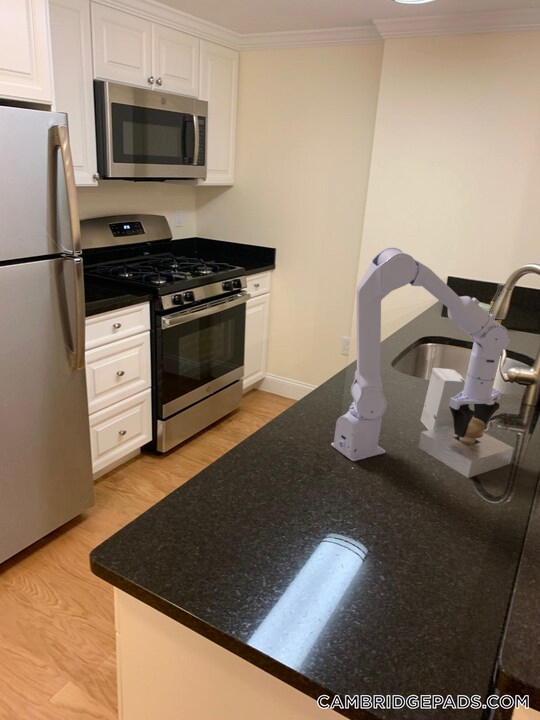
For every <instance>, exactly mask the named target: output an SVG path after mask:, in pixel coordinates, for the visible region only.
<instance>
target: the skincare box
mask: <svg viewBox="0 0 540 720" xmlns="http://www.w3.org/2000/svg"><path fill="white" fill-rule="evenodd" d="M465 380H466V379H465V378H464V377H463V376H462V375H461V374H460V373H459V372H457V371H456V370H455V369H451V368H441V367H440V368H439V367H432V369H431V374H430V379H429V383H428V388H427V391H426V396H425V400H424V404H423V409H422V413H421V417H420V422H421V423H422V424H423V426H424V427H425V428H426V429H427V430H431V429H435V428H439V427H443V426H447V425H451V424H454V420H453V415H452V412H451V410H450V407H449V403H450V398H452V397H455V396H456V395H458V394H459V393H460V392H462V391H463V390H464V385H465Z"/></svg>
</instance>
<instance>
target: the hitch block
mask: <svg viewBox="0 0 540 720" xmlns="http://www.w3.org/2000/svg"><path fill="white" fill-rule="evenodd" d="M459 439H460V437H459V436H458V435H456V434H455V432H454V424H451V425H447V426H443V427H439V428H435V429H431V430H428V429H427V430H423V431H421V432H420V436H419V442H418V447H417V448H418V449H420V450H421V451H423V452H424V453H426V454H428V455H429V456H431V457H433V458H434V459H436V460H437V461H440V463H443V464H444V465H446V466H447V467H449V468H451V469H452V470H454V471H456V472H457V473H459V474H461V475H462V476H463V477H466V478H467V479H469V478H472V477H474V476H475V477H476V476H479V475H481V474H484V473H487V472H491V471H493V470H496V469H499V468H502V467H504V466H508V465H511V461H512V457H513V453H514V451H515V450H514V449H515V448H514V447H512V446H511V445H509V444H507V443H506V442H503V441H501V440H499V439H497V438H495V437H493V436H491V435H490V434H488V433H486V432H484V433H483V436H482V437H481V438H476V439H475V443H474V445H471V446H467V445H465V444H463V443H462V442H460V441H459Z"/></svg>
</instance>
